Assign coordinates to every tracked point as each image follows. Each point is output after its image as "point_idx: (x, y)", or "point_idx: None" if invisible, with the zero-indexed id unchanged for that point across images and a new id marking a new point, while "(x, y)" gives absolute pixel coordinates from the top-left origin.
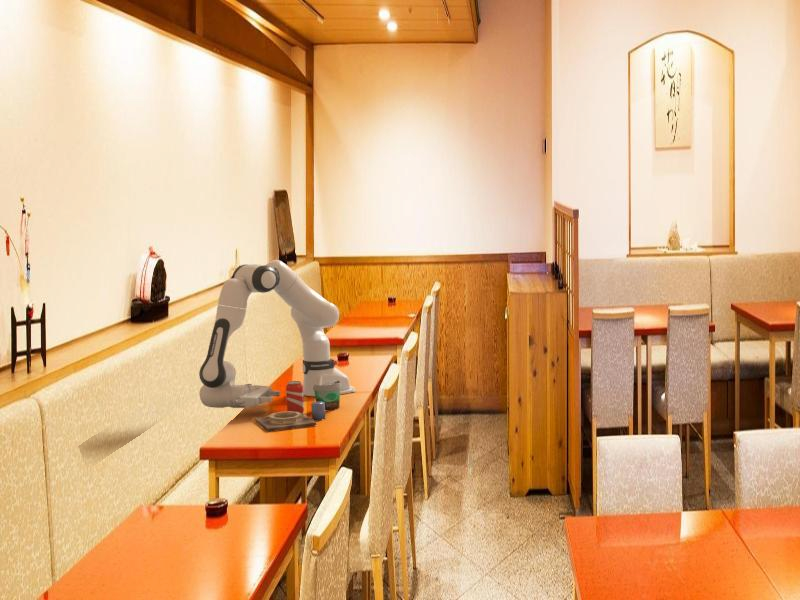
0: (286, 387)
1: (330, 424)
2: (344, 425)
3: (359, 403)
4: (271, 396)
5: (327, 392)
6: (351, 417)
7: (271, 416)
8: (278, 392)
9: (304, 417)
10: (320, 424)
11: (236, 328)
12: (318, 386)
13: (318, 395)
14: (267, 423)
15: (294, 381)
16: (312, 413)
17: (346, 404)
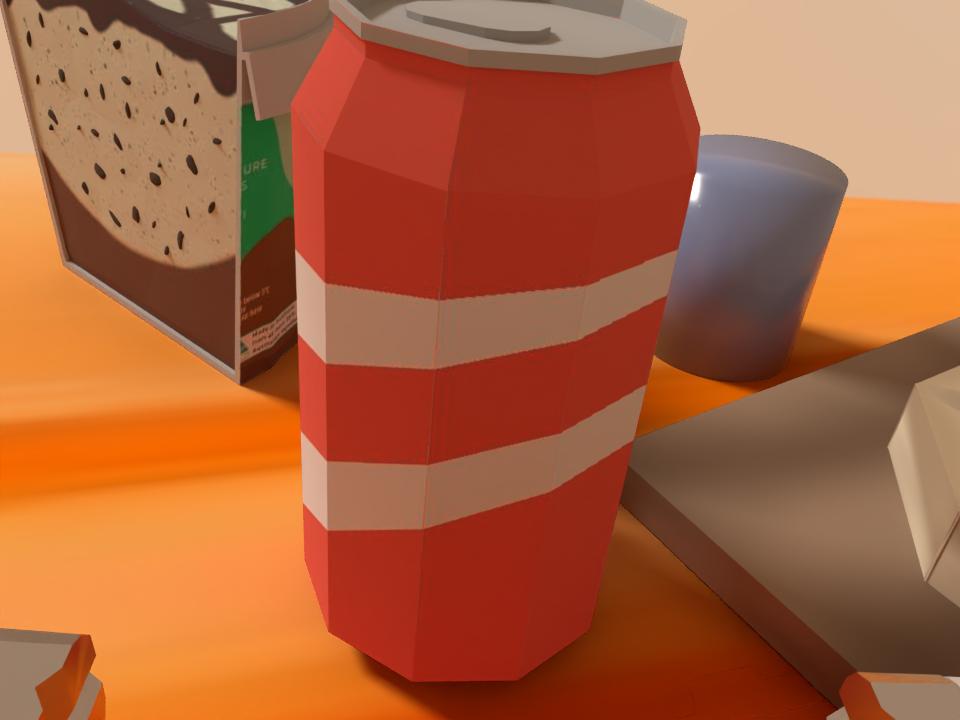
0: (617, 197)
1: (883, 264)
2: (863, 209)
3: (33, 163)
4: (878, 703)
5: None
6: None
7: None
8: (78, 648)
9: (870, 394)
10: (926, 311)
11: None
12: (310, 21)
13: (289, 171)
14: None
15: (349, 10)
16: (802, 305)
17: (31, 217)
